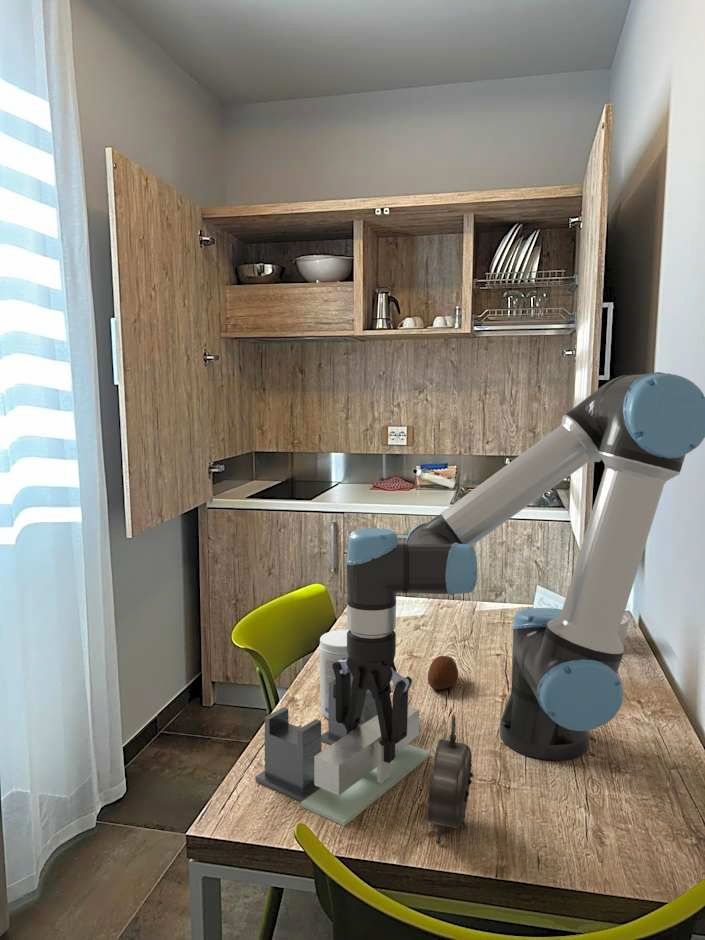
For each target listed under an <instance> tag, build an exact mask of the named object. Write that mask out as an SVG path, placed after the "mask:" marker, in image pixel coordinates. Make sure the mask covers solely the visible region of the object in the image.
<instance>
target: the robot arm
mask: <svg viewBox="0 0 705 940" xmlns="http://www.w3.org/2000/svg"><path fill="white" fill-rule="evenodd" d="M704 439H705V395H704V393H703V391H702V390H701V388H700V387H699V386H697V385H696V383H695V382H693V381H691V380H690V379H688V378H686V377H684V376H682V375H679V374H678V375H677V374H674V373H673V374H672V373H665V372H660V371H658V372H657V371H656V372H655V371H654V372H650V373H643V374H634V373H633V374H625V375H620V376H618V377H615V378H613V379H610V381H608V382H606V383H605V384H603V385H601V386H600V387H599V388H598V389H596V390H595V391H594V392H592V393H591V394H589V395H588V396H587V397H586V398H585V399H583V400H582V401H581V402H580V403H578V404H577V405H576V406H575V407H572V409H571V410H569V411H568V412H567V413H565V414H564V415H563V416H562V417H561V423H560V425H559V426H558V427H556V428H555V429H554V430H553V431H551V432H549V433H548V434H547V435H546V436H544V437H542V438H541V439H540V440H538V442H536V443H534V444H533V445H531V446H530V447H529V448H528V449H527V450H525V451H524V452H522V453H521V454H520V455H518V456H517V457H515V458H514V459H513V460H511V461H510V462H509V463H507V464H506V465H504V466H503V467H502V468H501V469H499V470H498V471H496V472H495V473H494V474H492V475H491V476H490V477H488V478H487V479H485V481H483V482H482V483H480V484H479V485H478V486H476V487H475V488H473V489H472V490H471V491H469V492H468V493H467V494H465V495H464V496H463V497H461V498H460V499H458V500H457V501H456V502H455V503H453V504H452V505H450V506H449V507H448V508H446V509H445V510H444V511H442V512H441V513H440V514H439V515H436V516H435V517H434V518H432V519H431V520H430V521H428V522H422V523H418V524H417V525H415V526H413V527H412V528H411V529H410V531H409V532H408V534H407V537H406V539H405V543H403V542H402V543H400V542H399V540H398V535H397V533H396V532H395V531H394V530H391V529H387V528H377V527H370V528H360V529H357V530H356V529H355V530H354V531H353V532H351V533H350V534H349V536H348V539H347V552H346V553H347V554H346V555H347V557H346V588H347V589H346V597H347V598H346V599H347V600H346V601H347V602H346V628H347V630H349V631H348V632H347V654H348V655H349V656H348V658H347V660H346V659H345V658H343V659H341V660H339V661H337V662H335V663H333V665H332V667H333V670H334V674H335V682H336V721H337V722H338V723H342V724H343V725H345V728H346V729H347V734H349V733H350V732H352V731H353V730H355V729H357V728H358V725H359V724H360V723H362V721H361V715H362V711H363V706H364V701H365V697H366V692H367V689H368V690H370V691H371V693H372V698H373V699H374V700H375V704H376V709H377V715H378V721H379V726H380V732H381V737H382V739H381V740H380V741H379V742H378V750H377V782H378V783H380V784H382V783H383V782H384V781H385V780H387V779H388V778H389V777H390V776H391V761H393V760H394V758H395V743H398V742H400V741H401V740H402V739H404V738H405V737H406V736H407V718H408V706H409V690H410V689H411V685H412V681H413V679H412V678H411V677H410V676H406V677H404V676H403V675H401V674H400V673H399V672H397V670H398V669H397V667H396V664H395V657H396V651H397V649H396V645H397V644H396V643H397V640H396V639H397V638H396V637H397V635H396V634H397V633H396V632H395V630H396V627H397V626H396V625H397V624H396V623H397V620H396V619H397V618H396V617H397V594H417V595H418V594H422V595H423V594H424V595H426V594H427V595H430V594H431V595H449V596H454V595H460V594H461V595H462V594H470V593H472V592H473V591H474V590H475V589H476V586H477V581H478V561H477V560H478V558H477V557H478V556H477V553H476V550H475V548H474V547H473V546H475V544H477V543H478V542H480V541H481V540H483V539H484V538H485V537H486V536H488V535H489V534H491V533H492V532H493V531H495V530H496V529H497V528H498V527H500V526H502V525H503V524H505V523H506V522H507V521H508V520H510V519H511V518H513V517H514V516H515V515H517V514H519V513H520V512H521V511H523V510H524V509H525V508H527V507H528V506H529V505H530V504H532V503H534V502H535V501H536V500H537V499H539V498H540V497H542V496H543V495H544V494H546V493H547V492H549V491H551V489H553V488H554V487H556V486H557V485H559V484H560V483H561V482H563V481H564V480H565V479H567V478H568V477H570V476H571V475H572V474H574V473H575V472H577V471H578V470H579V469H581V468H582V467H583V466H585V465H586V464H588V463H589V462H593V463H600V462H601V461H602V462H603V464H604V470H603V473H602V476H601V479H600V480H601V481H600V484H599V486H598V490H597V494H596V496H595V500H594V504H593V507H592V510H591V513H590V517H589V519H588V522H587V523H588V524H587V527H586V529H585V533H584V536H583V539H582V542H581V543H582V544H581V547H580V551H579V553H578V556H577V560H576V563H575V567H574V570H573V574H572V576H571V579H570V583H569V587H568V590H567V593H566V597H565V600H564V603H563V606H562V609H561V608H552V607H532V608H531V607H530V608H524V609H521V610H519V611H517V612H516V613H515V615H514V617H513V626H512V628H511V629H512V652H511V653H512V656H511V658H512V659H511V660H512V661H511V663H512V664H511V690H510V691H511V692H510V694H509V698H508V699H507V702H506V704H505V707H504V710H503V713H502V714H501V718H500V722H499V736H500V739H501V740H502V742H503V743H504V744H505V745H506V746H508V747H509V748H510V749H512V750H514V751H516V752H517V753H519V754H521V755H523V756H528V757H530V758H531V757H532V758H535V759H540V760H548V761H564V760H569V759H571V760H572V759H576V758H578V757H580V756H583V755H584V754H585V753H586V752H587V751H588V749H589V745H590V731H593V730H596V729H597V728H599V727H601V726H605V725H607V724H608V723H609V722H610V721H612V720H613V718H614V717H616V715H617V714H618V713H619V711H620V709H621V707H622V704H623V701H624V689H623V683H622V681H621V679H620V677H619V675H618V673H619V672H618V671H619V668H620V665H621V662H622V659H623V656H624V652H625V647H624V645H623V644H622V643H621V641H620V639H619V637H618V631H619V628H620V625H621V622H622V619H623V615H624V616H625V611H626V609H627V605H628V603H629V598H630V597H631V596H630V595H631V593H632V589H633V587H634V583H635V579H636V576H637V573H638V570H639V567H640V563H641V561H642V558H643V554H644V551H645V548H646V545H647V541H648V538H649V534H650V531H651V528H652V524H653V523H654V520H655V519H654V518H655V515H656V512H657V510H658V505H659V502H660V499H661V497H662V494H663V490H664V487H665V484H666V483H667V482H668V481H670V480H671V479H673V478H675V477H677V476H679V475H680V473H681V471H682V467H683V465H684V461H685V458H686V455H687V454H689V453H691V452H692V451H694V450H695V449H697V447H699V446H700V445H701V444H702V443H703V441H704ZM350 672H351V674H352V676H353V681H352V686H351V675H350ZM391 681H392V686H391V683H390V682H391ZM392 690H393V693H392ZM351 691H352V694H351ZM391 693H392V698H391ZM391 699H392V700H391ZM392 705H393V709H392ZM360 721H361V722H360ZM359 727H360V726H359Z"/></svg>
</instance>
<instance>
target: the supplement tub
mask: <svg viewBox="0 0 705 940" xmlns="http://www.w3.org/2000/svg"><path fill="white" fill-rule="evenodd" d="M348 631H349V629H338V630H333V631H328V632H326V633H323V634H322V635H321V636H320V638H319V647H318V648H319V653H318V654H319V706H320V707H319V708H320V712H321V714H322V716H323V717H324V718H326V719H328V696H329V683H330V682H332V681H334V680H335V674H334V670H333V667H332V665H333V663H335V662H337V661H339V660H341V659H343V658H345V659H346V660H347V658H348V656H349V655H348V654H347V632H348ZM350 675H351V686H352V681H353V676H352V674H351V672H350Z"/></svg>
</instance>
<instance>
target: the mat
mask: <svg viewBox="0 0 705 940" xmlns="http://www.w3.org/2000/svg"><path fill="white" fill-rule="evenodd" d="M430 757H431V751H429V750H425V749H422V748H420V747H417V746H414V745H412V744H409V743H408V744H407V745H405V746H404V747H403V748H401V749H400V750H399V751H397V752H396V753H395V758H394V760H393V761H391V776H390V777H389V778H388V779H387V780H385V781H384V782H383V783H382V784H380V783H378V782H377V767H376V768H375V769H374V770H372V771H371V772H370V773H368V774H367V775H366V776H364V777H363V778H362V779H360V780H359V781H358V782H356V783H355V784H354V785H352V786H351V787H350V788H348V789H347V790H346V791H344V792H343V793H342V794H340V795H339V796H338V795H336V794H334V793H331V792H329V791H327V790H325V789H322V788H320V789H319V790H317V791H316V792H315V793H313V794H312V795H310V796H309V797H308V798H306V799H305V800H303V801H302V802H300V807H301V808H304V809H306V810H308V811H311V813H314V814H317V815H319V816H322V817H323V818H325V819H327V820H330V821H332V822H334V823H336V824H339V825H341V826H343V827H345V826H346V825H348V824H349V823H350V822H351V821H353V820H354V819H355V818H356V817H357V816H359V815H360V814H361V813H362V812H364V811H365V810H366V809H367V808H368V807H370V806H371V805H372V804H373V803H374V802H376V801H377V800H378V799H380V798H381V797H382V796H383V795H385V794H386V793H387V792H388V791H389V790H391V789H392V788H394V786H396V785H397V784H398V783H399V782H400V781H401V780H403V779H404V778H405V777H407V776H408V775H409V774H410V773H411V772H412V771H413V770H415V769H416V768H417V767H419V766H420V765H421V764H422V763H424V762H425V760H427V759H428V758H430Z"/></svg>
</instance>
